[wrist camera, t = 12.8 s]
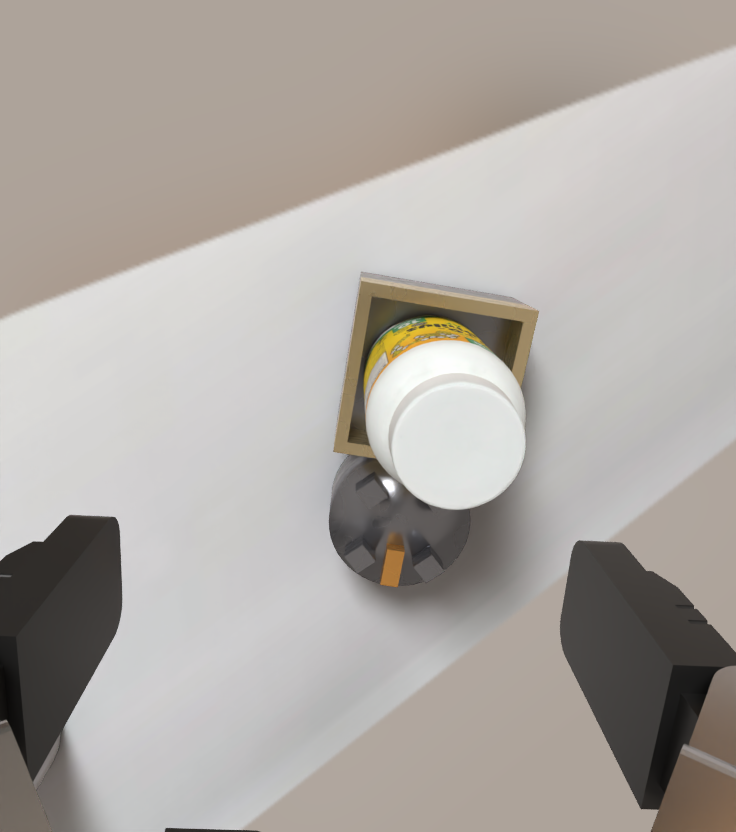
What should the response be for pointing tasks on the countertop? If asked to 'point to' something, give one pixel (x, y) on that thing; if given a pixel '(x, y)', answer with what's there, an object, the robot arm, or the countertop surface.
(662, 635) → the robot arm
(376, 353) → the supplement bottle
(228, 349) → the countertop surface
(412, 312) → the tan and grey box
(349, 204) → the countertop surface
